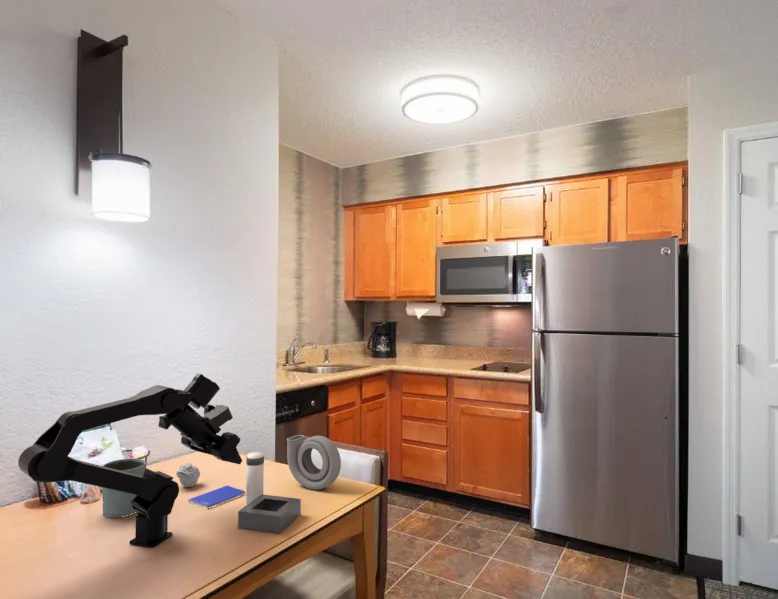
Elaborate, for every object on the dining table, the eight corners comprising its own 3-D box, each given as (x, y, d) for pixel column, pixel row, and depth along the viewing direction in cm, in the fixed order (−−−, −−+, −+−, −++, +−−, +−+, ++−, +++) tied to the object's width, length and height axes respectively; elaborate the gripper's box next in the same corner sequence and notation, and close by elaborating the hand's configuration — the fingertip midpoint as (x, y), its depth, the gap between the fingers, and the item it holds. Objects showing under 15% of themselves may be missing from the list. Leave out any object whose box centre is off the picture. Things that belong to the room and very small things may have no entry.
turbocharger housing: (344, 488, 144) (344, 437, 144) (331, 496, 138) (331, 442, 138) (297, 478, 152) (298, 429, 152) (283, 485, 146) (284, 434, 146)
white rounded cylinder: (258, 507, 130) (258, 457, 130) (242, 505, 131) (243, 456, 132) (266, 500, 135) (267, 452, 135) (251, 498, 136) (252, 451, 136)
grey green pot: (101, 507, 129) (102, 461, 129) (144, 500, 134) (145, 456, 134) (99, 522, 120) (100, 473, 120) (145, 514, 125) (146, 467, 125)
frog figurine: (171, 489, 142) (171, 465, 142) (188, 481, 148) (188, 458, 149) (188, 492, 140) (188, 467, 140) (205, 484, 147) (205, 460, 147)
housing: (280, 534, 115) (280, 516, 115) (238, 528, 118) (238, 511, 118) (300, 514, 126) (300, 498, 126) (261, 509, 129) (261, 494, 129)
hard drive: (207, 505, 128) (245, 490, 139) (188, 498, 133) (226, 484, 143) (207, 511, 128) (245, 496, 139) (188, 504, 133) (226, 490, 143)
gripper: (233, 401, 118) (271, 438, 126) (192, 392, 129) (229, 426, 138) (202, 441, 111) (244, 477, 120) (162, 428, 123) (203, 461, 132)
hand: (230, 458), depth 127 cm, fingers open, 9 cm apart
